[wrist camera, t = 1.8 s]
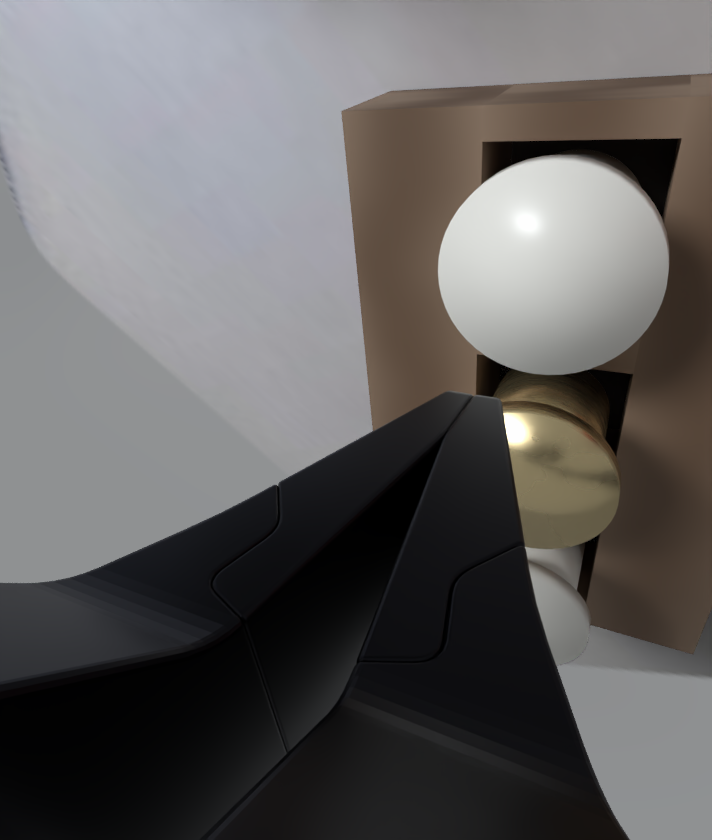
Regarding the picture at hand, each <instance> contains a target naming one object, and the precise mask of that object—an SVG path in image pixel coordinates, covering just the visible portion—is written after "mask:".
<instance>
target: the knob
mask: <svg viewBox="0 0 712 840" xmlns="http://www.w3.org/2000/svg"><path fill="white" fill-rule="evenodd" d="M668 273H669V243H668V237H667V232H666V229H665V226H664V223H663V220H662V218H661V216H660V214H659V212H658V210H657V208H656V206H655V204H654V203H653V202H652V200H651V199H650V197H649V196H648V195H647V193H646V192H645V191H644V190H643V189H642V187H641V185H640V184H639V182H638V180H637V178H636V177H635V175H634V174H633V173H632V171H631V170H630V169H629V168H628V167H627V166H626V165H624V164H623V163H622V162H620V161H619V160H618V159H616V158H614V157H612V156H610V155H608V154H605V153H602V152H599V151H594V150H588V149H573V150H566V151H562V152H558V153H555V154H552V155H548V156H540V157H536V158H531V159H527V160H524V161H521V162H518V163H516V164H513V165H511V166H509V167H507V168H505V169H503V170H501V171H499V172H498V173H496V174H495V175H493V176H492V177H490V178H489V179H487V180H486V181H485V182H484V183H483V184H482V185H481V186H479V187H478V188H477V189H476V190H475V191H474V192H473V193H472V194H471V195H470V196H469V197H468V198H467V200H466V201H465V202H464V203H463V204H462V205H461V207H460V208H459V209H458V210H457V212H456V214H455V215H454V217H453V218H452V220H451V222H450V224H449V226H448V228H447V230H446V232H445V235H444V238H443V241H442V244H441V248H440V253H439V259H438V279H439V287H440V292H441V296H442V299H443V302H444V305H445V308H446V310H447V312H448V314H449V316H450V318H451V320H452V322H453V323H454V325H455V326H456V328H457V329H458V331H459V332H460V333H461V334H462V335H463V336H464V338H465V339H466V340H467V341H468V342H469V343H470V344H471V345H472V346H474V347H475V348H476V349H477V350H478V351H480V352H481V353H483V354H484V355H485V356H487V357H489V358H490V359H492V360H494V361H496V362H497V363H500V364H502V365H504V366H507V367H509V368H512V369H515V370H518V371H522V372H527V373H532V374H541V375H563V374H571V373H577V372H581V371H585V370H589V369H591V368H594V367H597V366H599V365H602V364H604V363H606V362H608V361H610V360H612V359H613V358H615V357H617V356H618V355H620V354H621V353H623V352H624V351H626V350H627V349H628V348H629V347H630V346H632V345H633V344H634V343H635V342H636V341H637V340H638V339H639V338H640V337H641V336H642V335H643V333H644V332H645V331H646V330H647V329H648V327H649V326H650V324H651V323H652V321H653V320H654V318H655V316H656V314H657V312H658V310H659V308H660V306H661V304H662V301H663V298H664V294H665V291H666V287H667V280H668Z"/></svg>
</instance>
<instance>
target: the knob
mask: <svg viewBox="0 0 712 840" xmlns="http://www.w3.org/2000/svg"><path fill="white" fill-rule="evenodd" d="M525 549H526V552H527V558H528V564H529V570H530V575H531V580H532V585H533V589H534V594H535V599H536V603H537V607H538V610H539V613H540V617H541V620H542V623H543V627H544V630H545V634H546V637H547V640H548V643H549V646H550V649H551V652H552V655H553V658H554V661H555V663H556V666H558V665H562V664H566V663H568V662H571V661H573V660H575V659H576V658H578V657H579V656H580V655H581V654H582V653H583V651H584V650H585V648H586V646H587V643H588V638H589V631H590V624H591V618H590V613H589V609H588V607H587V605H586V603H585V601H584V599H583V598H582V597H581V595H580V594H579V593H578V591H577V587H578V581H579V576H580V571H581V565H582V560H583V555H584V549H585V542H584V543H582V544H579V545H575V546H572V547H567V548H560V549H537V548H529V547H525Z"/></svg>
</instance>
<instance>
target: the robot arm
mask: <svg viewBox="0 0 712 840" xmlns="http://www.w3.org/2000/svg"><path fill="white" fill-rule="evenodd" d="M0 840H630V839H629V838H628V836H627V835H626V833H625V832H624V830H623V829H622V827H621V826H620V824H619V822H618V821H617V819H616V818H615V816H614V814H613V812H612V810H611V808H610V806H609V804H608V802H607V800H606V798H605V796H604V793H603V791H602V789H601V787H600V785H599V782H598V780H597V778H596V775H595V773H594V770H593V768H592V765H591V763H590V760H589V757H588V755H587V752H586V750H585V747H584V744H583V741H582V739H581V736H580V733H579V730H578V728H577V724H576V721H575V718H574V716H573V713H572V710H571V707H570V704H569V701H568V698H567V695H566V692H565V689H564V687H563V684H562V681H561V678H560V675H559V672H558V669H557V666H556V663H555V661H554V658H553V655H552V652H551V649H550V646H549V643H548V640H547V637H546V634H545V630H544V627H543V623H542V620H541V617H540V613H539V610H538V607H537V603H536V599H535V594H534V589H533V585H532V580H531V575H530V570H529V564H528V558H527V552H526V549H525V542H524V535H523V529H522V523H521V517H520V511H519V505H518V499H517V493H516V487H515V481H514V474H513V468H512V462H511V456H510V450H509V444H508V438H507V432H506V426H505V420H504V413H503V407H502V402H501V400H500V399H499V398H494V397H488V396H481V395H475V396H473V395H472V394H468V393H461V392H455V391H446V392H444V393H442V394H440V395H438V396H437V397H435V398H433V399H431V400H429V401H427V402H426V403H424V404H422V405H420V406H418V407H416V408H415V409H413V410H411V411H409V412H407V413H405V414H404V415H402V416H400V417H398V418H396V419H394V420H393V421H391V422H389V423H387V424H385V425H383V426H382V427H380V428H378V429H376V430H374V431H372V432H370V433H369V434H367V435H365V436H363V437H361V438H359V439H358V440H356V441H354V442H352V443H350V444H348V445H347V446H345V447H343V448H341V449H339V450H337V451H336V452H334V453H332V454H330V455H328V456H326V457H325V458H323V459H321V460H319V461H317V462H315V463H314V464H312V465H310V466H308V467H306V468H304V469H303V470H301V471H299V472H297V473H295V474H293V475H292V476H290V477H288V478H286V479H284V480H282V481H281V482H279V484H278V486H277V485H273V486H272V487H269V488H267V489H266V490H264V491H262V492H260V493H258V494H256V495H255V496H253V497H251V498H249V499H247V500H245V501H243V502H241V503H239V504H237V505H235V506H233V507H232V508H229V509H227V510H225V511H224V512H222V513H219V514H217V515H215V516H213V517H211V518H209V519H207V520H204V521H202V522H200V523H198V524H196V525H194V526H191V527H189V528H187V529H185V530H183V531H181V532H179V533H176V534H174V535H172V536H169V537H167V538H165V539H163V540H160V541H158V542H156V543H154V544H151V545H149V546H147V547H144V548H142V549H140V550H138V551H135V552H133V553H131V554H129V555H126V556H124V557H122V558H119V559H117V560H115V561H113V562H110V563H108V564H106V565H104V566H101V567H99V568H97V569H94V570H91V571H89V572H86V573H84V574H80V575H77V576H74V577H70V578H66V579H61V580H56V581H50V582H40V583H0Z"/></svg>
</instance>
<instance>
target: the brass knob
mask: <svg viewBox="0 0 712 840" xmlns="http://www.w3.org/2000/svg"><path fill="white" fill-rule="evenodd" d="M493 397H494V398H499V399H500V400H501V402H502V407H503V413H504V420H505V426H506V432H507V438H508V444H509V450H510V456H511V462H512V468H513V474H514V481H515V487H516V493H517V499H518V505H519V511H520V517H521V523H522V529H523V535H524V542H525V547H529V548H537V549H560V548H567V547H572V546H575V545H579V544H582V543H584V542H586V541H588V540H591V539H592V538H594V537H595V536H597V535H599V534H600V533H601V532H602V531H603V530H604V529H605V528H606V527H607V526H608V525H609V524H610V522H611V521H612V519H613V517H614V516H615V514H616V511H617V507H618V503H619V496H620V489H621V471H620V467H619V463H618V461H617V458H616V456H615V454H614V452H613V450H612V449H611V447H610V445H609V444H608V443H607V441H606V440H605V437H606V432H607V427H608V421H609V415H610V404H609V400H608V396H607V394H606V392H605V390H604V388H603V386H602V385H601V384H600V382H599V381H598V380H597V379H596V378H595V377H594V376H593V375H592V374H590V373H589V372H588V371H586V370H585V371H581V372H577V373H571V374H563V375H541V374H532V373H527V372H522V371H518V370H515V369H511V370H510V371H509V372H508V373H507V374H506V375H505V376H504V377H503V378H502V380H501V381H500V383H499V385H498V387H497V389H496V391H495V393H494V396H493Z"/></svg>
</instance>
